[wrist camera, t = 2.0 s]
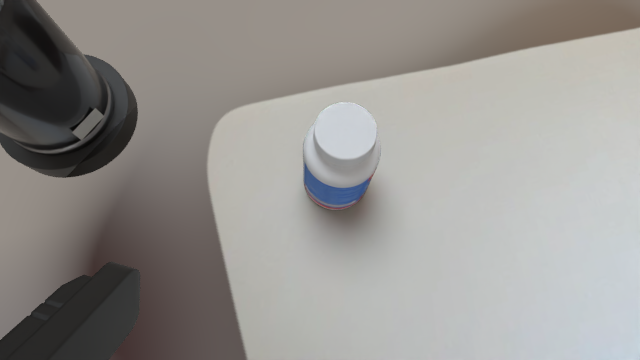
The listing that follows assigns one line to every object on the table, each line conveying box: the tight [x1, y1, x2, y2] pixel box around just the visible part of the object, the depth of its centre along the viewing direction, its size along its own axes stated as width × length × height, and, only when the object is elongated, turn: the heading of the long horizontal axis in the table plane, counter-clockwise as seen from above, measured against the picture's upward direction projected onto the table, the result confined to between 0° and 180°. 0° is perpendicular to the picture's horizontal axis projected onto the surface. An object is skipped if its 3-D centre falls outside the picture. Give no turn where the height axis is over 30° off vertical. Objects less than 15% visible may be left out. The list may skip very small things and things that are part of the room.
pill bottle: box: [303, 102, 381, 210], centre depth 30 cm, size 6×5×10 cm
